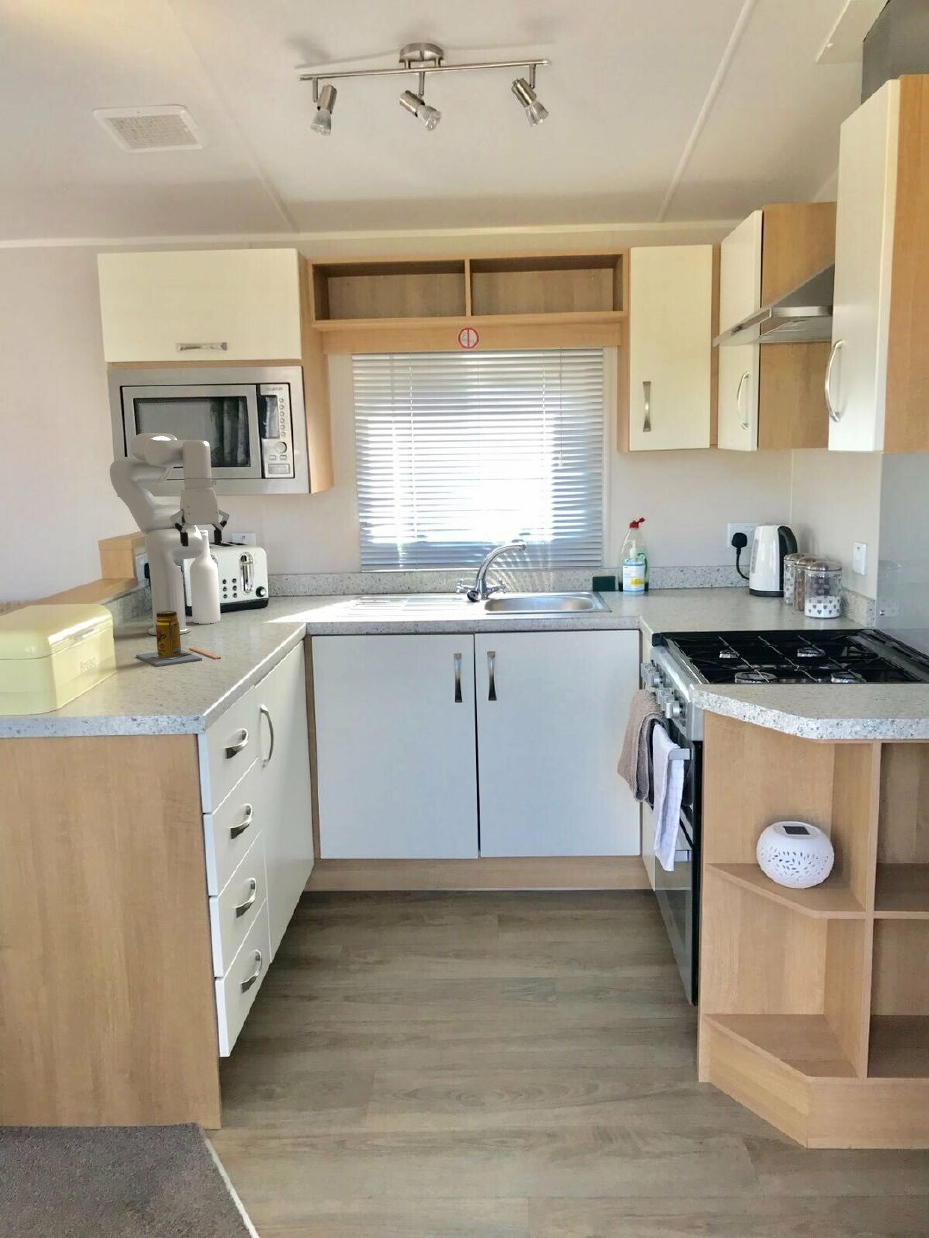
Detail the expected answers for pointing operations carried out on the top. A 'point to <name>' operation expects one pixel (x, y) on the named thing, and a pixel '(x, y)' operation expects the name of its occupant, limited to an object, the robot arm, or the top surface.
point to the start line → (205, 653)
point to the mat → (162, 662)
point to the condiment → (168, 635)
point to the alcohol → (205, 586)
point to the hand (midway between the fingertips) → (201, 545)
